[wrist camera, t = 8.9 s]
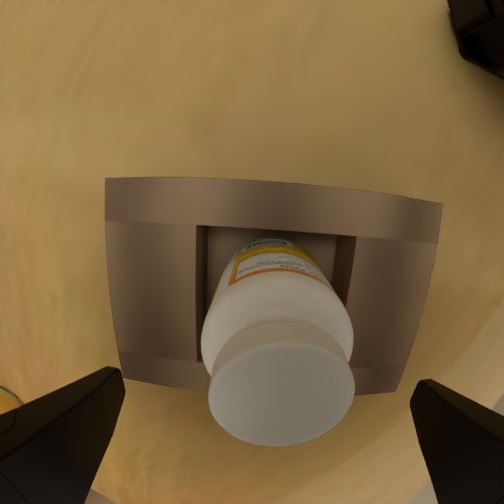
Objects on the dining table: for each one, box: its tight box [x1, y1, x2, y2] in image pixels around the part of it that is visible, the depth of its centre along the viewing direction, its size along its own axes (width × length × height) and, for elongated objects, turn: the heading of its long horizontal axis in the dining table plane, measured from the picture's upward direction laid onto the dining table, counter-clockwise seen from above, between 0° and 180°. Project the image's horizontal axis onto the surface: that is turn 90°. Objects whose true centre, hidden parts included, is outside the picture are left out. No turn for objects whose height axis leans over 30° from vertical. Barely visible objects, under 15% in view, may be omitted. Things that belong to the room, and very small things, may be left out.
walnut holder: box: [105, 177, 443, 395], centre depth 15 cm, size 16×11×4 cm
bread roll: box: [0, 387, 23, 414], centre depth 21 cm, size 8×9×4 cm
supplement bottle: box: [201, 236, 355, 447], centre depth 12 cm, size 5×5×10 cm
